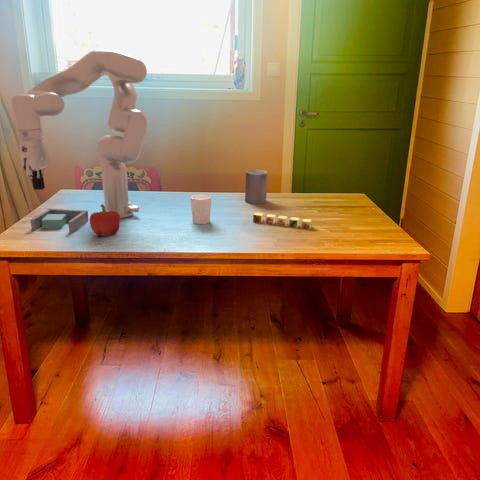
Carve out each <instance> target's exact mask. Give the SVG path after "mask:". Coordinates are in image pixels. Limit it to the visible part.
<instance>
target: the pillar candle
mask: <svg viewBox="0 0 480 480" xmlns="http://www.w3.org/2000/svg"><path fill="white" fill-rule="evenodd" d="M267 187H268V171H267V170H264V169H259V168H256V169H254V168H253V169H247V170H246V171H245V187H244V189H245V190H244V191H245V192H244V194H245V196H244V198H245V199H244V201H245V203H247V204H251V205H262V204H264V203H266V202H267V192H268V191H267V189H268V188H267Z"/></svg>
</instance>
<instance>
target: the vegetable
mask: <svg viewBox="0 0 480 480" xmlns="http://www.w3.org/2000/svg"><path fill="white" fill-rule="evenodd" d="M100 207H101V209H102V211H97V212H93V213H91V214H90V215H89V224H90V228H91V230H92V232H93V233H94V234H95V236H98V237H100V236H105V237H106V236H110V235H116V234H117V233H118V231H119V229H120V224H121V218H120V215H119V214H118V213H117V212H114V211H109V212H106V210H105V204H101V205H100Z"/></svg>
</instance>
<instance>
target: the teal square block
mask: <svg viewBox="0 0 480 480" xmlns="http://www.w3.org/2000/svg"><path fill="white" fill-rule="evenodd" d="M67 223H68V220H67V217H66V214H47V215H46V216H45V217H44V218H43V219H42V226H41V227H42V229H63V228H64V227H65V225H66V224H67Z"/></svg>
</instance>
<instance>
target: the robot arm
mask: <svg viewBox="0 0 480 480" xmlns="http://www.w3.org/2000/svg"><path fill="white" fill-rule="evenodd" d="M147 72H148V71H147V67H146V65H145V63H144V62H143V61H142V60H141V59H140V58H137V57H134V56H130V55H127V54H125V53H122V52H120V51H116V50H111V49H95V50H91V51H89V52H88V53H87V54H85V55H83V56H82V57H81V58H80V59H79V60H77V61H76V62H75V63H74V64H72V65H71V66H70V67H68V68H67V69H65V70H63V71H60V72H59V73H56V74H54V75H52V76H50V77H48V78H45V79H44V80H41V81H40V82H39V83H38V84H36V85H35V86H34V87H32V88H31V89H30V90H28V92H27V93H21V94H14V95H12V97H11V101H10V102H11V108H12V111H13V112H12V113H13V117H14V118H13V119H14V125H15V129H16V135H17V139H18V145H19V146H18V150H19V157H20V164H21V168H22V170H23V171H24V172H25V174H26V176H29V177H30V178H31V181H32V188H33V190H37V191H40V190H41V191H42V190H45V188H46V186H45V180H44V176H45V174H44V170H46V168H47V167H48V166H49V165H50V157H49V153H48V148H47V145H46V144H47V143H46V141H45V138H44V136H43V135H44V134H43V128H42V122H41V117H55V116H58V115H60V114H61V113H62V112H63V111H64V109H65V101H64V99H63V97H66V96H67V97H68V96H72V95H76V94H78V93H82V92H84V91H85V90H87V89H88V88H89V87H91V86H92V85H93V84H95V83H96V82H97V81H98V80H99V79H100V78H102V77H105V76H108V78H109V80H110V82H111V84H112V86H113V92H114V94H113V100H112V104H111V107H110V111H109V115H108V119H107V126H108V129H109V130H110V131H112V132H113V133H118V134H122V135H123V136H121V135H120V136H119V135H113V134H106V135H104V136H102V137H101V138H99V140H98V142H97V146H96V148H97V149H96V150H97V154H98V159H99V162H100V167H101V177H102V191H103V201H104V202H103V203H104V204H103V205H104V206H105V210H106V212H109V211H114V212H117V213H118V214H119V215H120V219H125V218H130V217H131V216H133V214H134V213H139V211H140V208H139V207H138V205H132V202H131V201H129V188H128V187H129V186H128V185H129V184H128V169H127V167H126V164H132V163H135V162H136V161H137V160H138V159H139V158H140V155H141V152H142V149H143V144H144V140H145V137H146V133H147V130H148V122H147V117H146V114H144V113H143V112H142V111H141V110H138V109H136V105H137V100H138V99H137V97H138V96H137V92H136V89H135V87H134V85H133V84H139V83H142V82H143V81H144V80H145V79H146V78H147V75H148V73H147ZM125 163H126V164H125Z"/></svg>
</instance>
